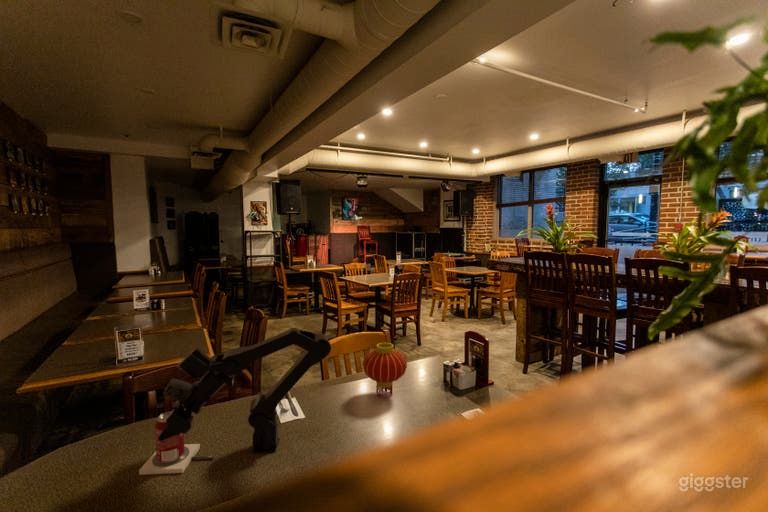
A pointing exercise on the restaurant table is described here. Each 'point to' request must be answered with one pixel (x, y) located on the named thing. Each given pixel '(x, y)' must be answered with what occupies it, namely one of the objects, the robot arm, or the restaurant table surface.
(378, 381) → the lantern
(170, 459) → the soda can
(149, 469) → the charging dock
